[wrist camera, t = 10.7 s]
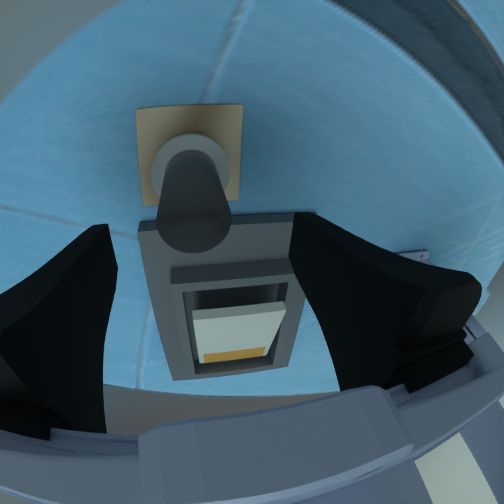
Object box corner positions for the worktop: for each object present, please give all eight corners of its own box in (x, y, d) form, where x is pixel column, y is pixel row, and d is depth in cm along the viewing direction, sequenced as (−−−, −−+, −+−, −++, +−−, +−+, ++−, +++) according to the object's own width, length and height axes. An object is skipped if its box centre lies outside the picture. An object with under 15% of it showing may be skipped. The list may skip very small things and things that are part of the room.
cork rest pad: (241, 104, 17) (243, 104, 17) (237, 197, 21) (238, 200, 21) (136, 108, 16) (135, 109, 16) (143, 203, 20) (143, 206, 20)
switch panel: (314, 212, 24) (332, 233, 21) (284, 357, 35) (292, 379, 32) (139, 221, 21) (133, 246, 18) (172, 370, 32) (174, 394, 29)
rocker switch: (283, 301, 22) (286, 311, 22) (264, 348, 30) (266, 356, 29) (192, 310, 21) (193, 321, 20) (198, 356, 28) (199, 364, 28)
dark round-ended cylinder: (226, 127, 18) (257, 167, 11) (220, 190, 20) (245, 267, 13) (156, 127, 17) (133, 167, 9) (156, 191, 19) (141, 269, 12)
